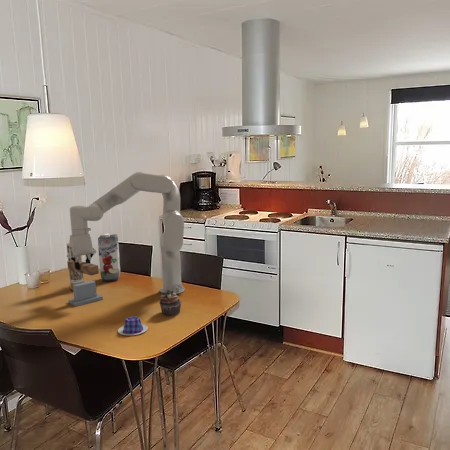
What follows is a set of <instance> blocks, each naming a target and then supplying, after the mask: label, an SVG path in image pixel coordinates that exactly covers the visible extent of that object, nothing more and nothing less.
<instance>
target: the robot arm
mask: <svg viewBox="0 0 450 450" xmlns="http://www.w3.org/2000/svg"><path fill="white" fill-rule="evenodd" d="M139 192H148V193H157V194H162V199H163V202H162V203H163V204H162V219H161V221H162V225H164V229H163V233H162V234H161V235H160V238H159V246H160V254H161V255H160V256H161V272H162V273H161V275H162V287H160V290H159V292H160V293H161V294H162V293H165V292H167V290H169V291H173V292H174V293H175V294H176V295H177V294H178V295H179V294H181V293H183V292H185V289H186V287H184V286H183V283H182V269H181V268H182V267H181V249H182V248H183V243H184V233H185V232H184V231H185V230H184V229H185V220H184V217H183V215H182V214H181V193H180V190H179V188H178V186H177V184H176V183H175V182H174V181H173V179H172V178H171V177H170V176H168V175H165V174H152V173H146V172H145V173H144V172H141V171H136V172H134V173H133V174H131V175H130V176H128V177H127V178H125V179H124V180H123V181H122V182H119V184H117V185H116V186H114V187H112V188H111V189H110V190H109V191H108V192H106V193H105V194H103V195H102V196H100V197H99V198H97V199H96V200H95V201H93V202H92V203H91V204H89V206H85V205H73V206H71V207H70V208H69V216H70V219H69V220H70V227H71V228H70V229H71V230H70V231H71V234H70V235H69V242H68V243H69V253H67V254H66V258H67V259H68V258H70V259H71V260H73V261H74V264H75V269H76V270H80V267H79V262H78V257H79V256H81V257H82V256H85V262H86V263H90V264H91V260H92V258H93V256H94V255H95V254H96V253H97V250H96V249H94V247H93V242H92V237H91V234H90V233H89V232H90V231H91V227H88V226H89V225H88V221H89V222H97V221H100V220H102V218H103V216H104V214H106V213H107V212H108V211H110V210H112V209H113V208H114V207H117V206H119V205H122V204H124V203H125V202H127V201H128V200H130V199H131V198H133V197H134V196H135V195H136V194H138V193H139ZM71 255H73V256H74V257H72V256H71Z"/></svg>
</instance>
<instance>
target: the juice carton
mask: <svg viewBox="0 0 450 450" xmlns="http://www.w3.org/2000/svg"><path fill="white" fill-rule="evenodd" d="M97 246H98V247H97V248H98V261H99V271H100V272H99V274H100V277H101V280H102V282H112V281H113V282H116V281H119V278H120V274H121V265H120V264H121V263H120V261H121V260H120V248H119V237H118V234H115V233H114V234H110V233H103V234H100V236H99V237H98V238H97Z"/></svg>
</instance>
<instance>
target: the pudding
mask: <svg viewBox="0 0 450 450" xmlns="http://www.w3.org/2000/svg"><path fill="white" fill-rule="evenodd" d="M148 328H149V327H148V325H146V324H145V323H142V321H141V319H140V317H139V316H135V315H134V316H129V317H127V318H125V320H124V325H122V326H121V327H119V328H118V329H117V332H118V334H120V335H122V336H135V335H136V336H137V335H140V334H143V333H146V331H148Z"/></svg>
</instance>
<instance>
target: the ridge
mask: <svg viewBox="0 0 450 450" xmlns="http://www.w3.org/2000/svg"><path fill="white" fill-rule="evenodd" d="M72 293H73V298H70V299H68V300H67V301H68V303H69V304H70V305H72V306H73V307H74V308H77V307H79V306H84V305H87V304H91V303H95V302H99V301H103V300H104V299H103V296H102V295H100V294H99V293H97V284H96V281H95V280H88V281H85V282H84V283H79V284H75V285H73V290H72Z"/></svg>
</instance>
